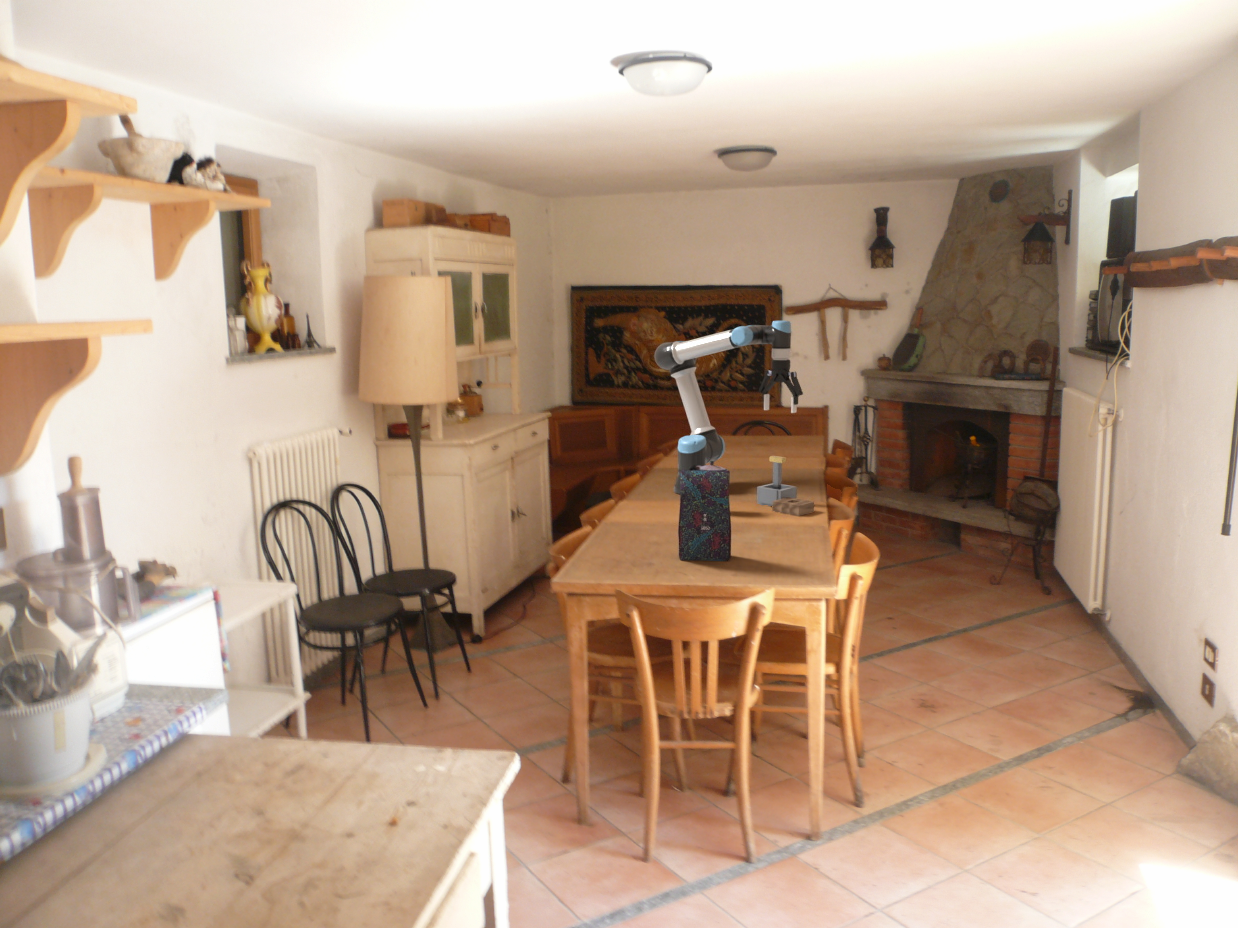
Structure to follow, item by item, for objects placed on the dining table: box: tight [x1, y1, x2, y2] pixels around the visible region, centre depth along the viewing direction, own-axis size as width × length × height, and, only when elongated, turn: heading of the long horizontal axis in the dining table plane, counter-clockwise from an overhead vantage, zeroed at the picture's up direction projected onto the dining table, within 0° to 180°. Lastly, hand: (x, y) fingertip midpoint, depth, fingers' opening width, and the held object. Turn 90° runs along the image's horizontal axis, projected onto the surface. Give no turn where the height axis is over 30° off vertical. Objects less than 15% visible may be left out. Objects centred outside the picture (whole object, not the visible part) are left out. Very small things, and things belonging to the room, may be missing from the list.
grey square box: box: [756, 482, 798, 507], centre depth 379 cm, size 11×11×7 cm
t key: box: [769, 455, 787, 490], centre depth 378 cm, size 6×2×18 cm, turn 45°
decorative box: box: [677, 469, 732, 562], centre depth 301 cm, size 8×16×28 cm, turn 84°
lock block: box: [772, 497, 815, 517], centre depth 366 cm, size 12×10×4 cm
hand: (779, 411), depth 391 cm, fingers open, 13 cm apart
